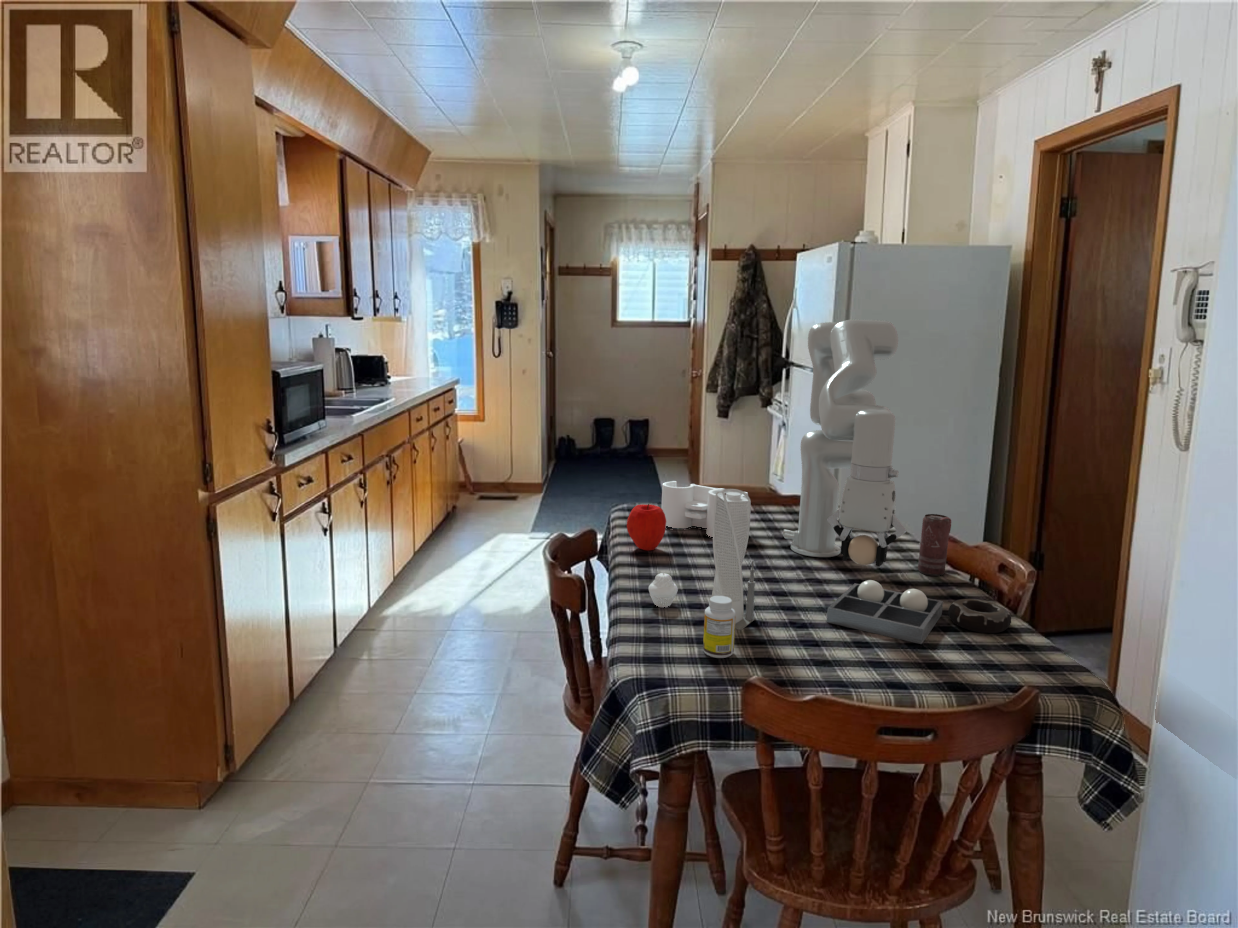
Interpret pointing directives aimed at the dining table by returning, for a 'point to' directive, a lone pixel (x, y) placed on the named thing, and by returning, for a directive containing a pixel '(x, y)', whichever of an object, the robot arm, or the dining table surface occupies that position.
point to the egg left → (871, 591)
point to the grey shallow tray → (884, 615)
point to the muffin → (663, 590)
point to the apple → (646, 526)
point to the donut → (979, 615)
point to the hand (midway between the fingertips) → (862, 560)
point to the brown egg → (863, 549)
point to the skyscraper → (732, 552)
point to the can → (934, 544)
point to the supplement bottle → (719, 627)
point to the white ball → (914, 600)
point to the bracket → (689, 505)
